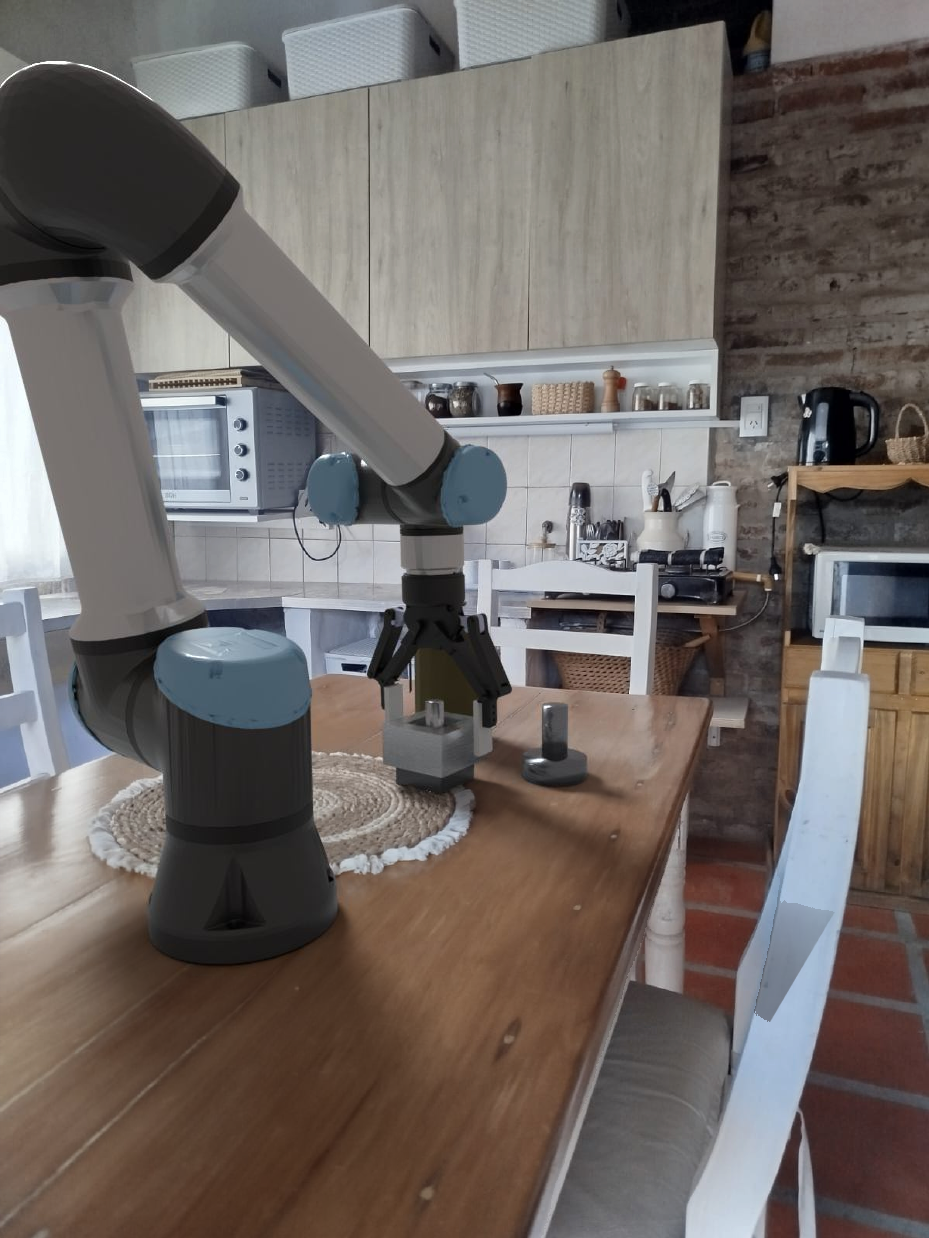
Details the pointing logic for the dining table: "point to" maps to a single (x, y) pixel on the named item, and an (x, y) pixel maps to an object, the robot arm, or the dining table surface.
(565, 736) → the cylinder
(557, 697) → the dining table surface
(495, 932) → the dining table surface
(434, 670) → the canister
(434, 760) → the grey square ring block
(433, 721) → the stand
